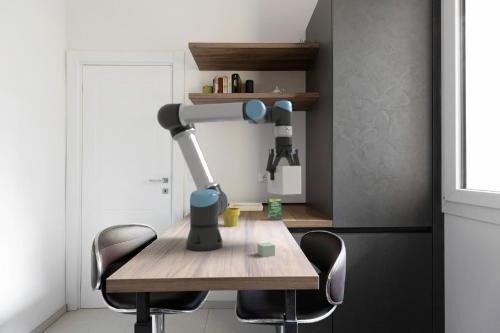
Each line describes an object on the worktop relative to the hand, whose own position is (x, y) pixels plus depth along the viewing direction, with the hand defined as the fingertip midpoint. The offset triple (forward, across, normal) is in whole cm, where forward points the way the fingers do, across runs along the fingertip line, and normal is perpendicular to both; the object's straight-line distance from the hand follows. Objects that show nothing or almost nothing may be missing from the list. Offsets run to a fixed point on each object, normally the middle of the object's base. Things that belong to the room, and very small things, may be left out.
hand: (283, 187), depth 144 cm
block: (+24, -17, -14) cm, 33 cm away
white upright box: (+3, 0, 0) cm, 3 cm away
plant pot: (+24, -6, +47) cm, 53 cm away
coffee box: (+24, +26, +53) cm, 64 cm away
